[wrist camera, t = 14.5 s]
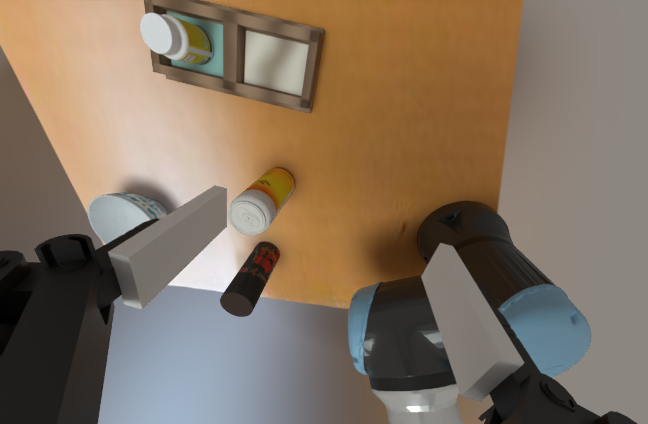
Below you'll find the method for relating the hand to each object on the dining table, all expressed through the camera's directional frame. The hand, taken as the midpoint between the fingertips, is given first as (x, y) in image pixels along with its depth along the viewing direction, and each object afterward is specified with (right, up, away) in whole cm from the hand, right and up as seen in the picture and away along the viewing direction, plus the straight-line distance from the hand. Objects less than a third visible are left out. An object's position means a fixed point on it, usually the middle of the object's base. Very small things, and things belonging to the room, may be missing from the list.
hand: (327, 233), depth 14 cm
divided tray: (-13, +26, +22) cm, 36 cm away
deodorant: (-13, -8, +39) cm, 42 cm away
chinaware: (-39, +1, +38) cm, 55 cm away
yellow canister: (-9, +7, +30) cm, 32 cm away
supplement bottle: (-19, +26, +21) cm, 39 cm away
